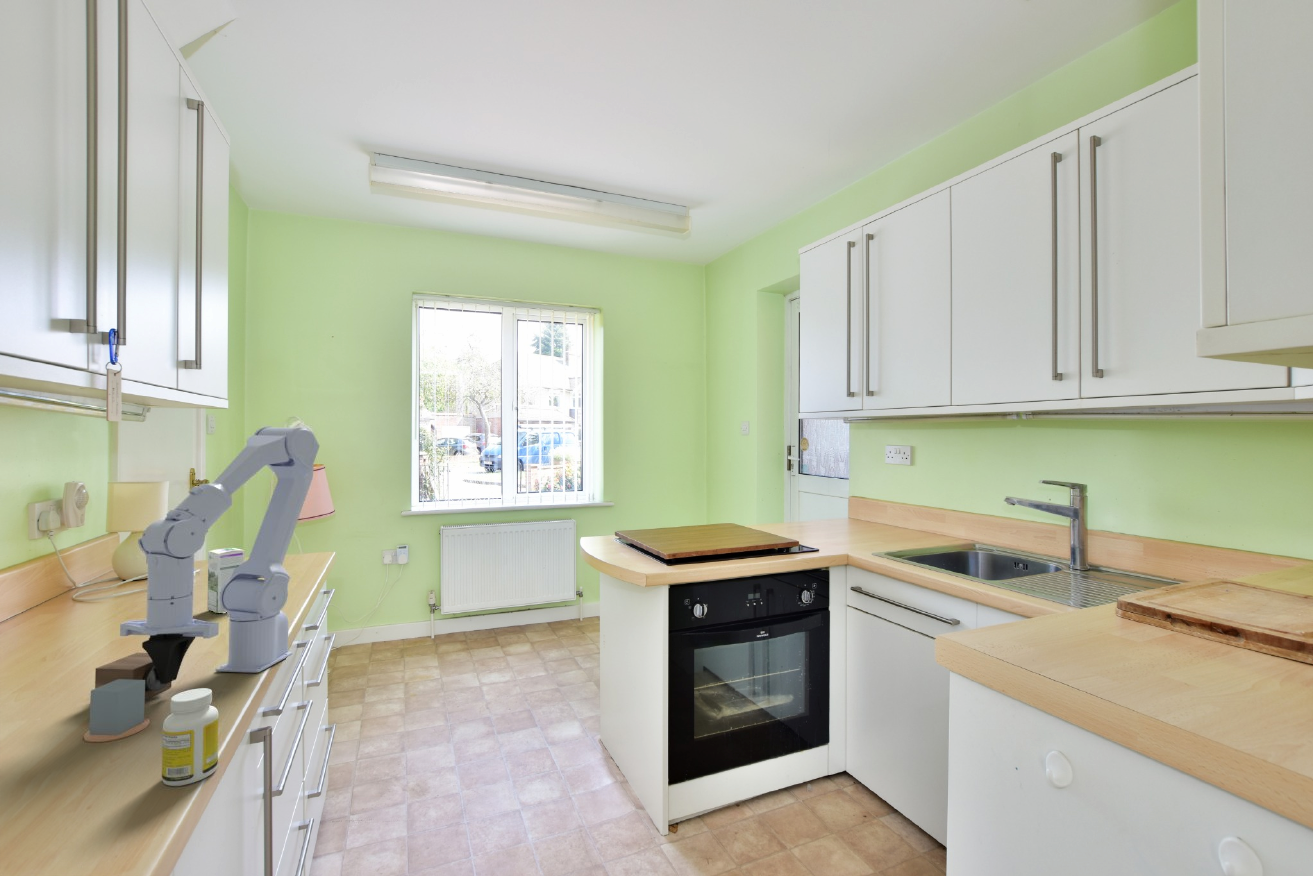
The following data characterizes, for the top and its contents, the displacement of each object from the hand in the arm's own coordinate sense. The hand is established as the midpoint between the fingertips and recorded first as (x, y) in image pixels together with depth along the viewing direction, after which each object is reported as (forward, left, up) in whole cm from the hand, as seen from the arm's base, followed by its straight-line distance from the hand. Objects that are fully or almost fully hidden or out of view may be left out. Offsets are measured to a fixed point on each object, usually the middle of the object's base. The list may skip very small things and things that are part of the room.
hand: (168, 681), depth 94 cm
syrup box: (-47, -28, -3) cm, 55 cm away
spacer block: (+11, +2, -2) cm, 11 cm away
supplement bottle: (+21, +21, -3) cm, 30 cm away
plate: (+11, +2, -2) cm, 12 cm away
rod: (0, -5, -1) cm, 6 cm away
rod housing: (0, -6, -2) cm, 6 cm away
